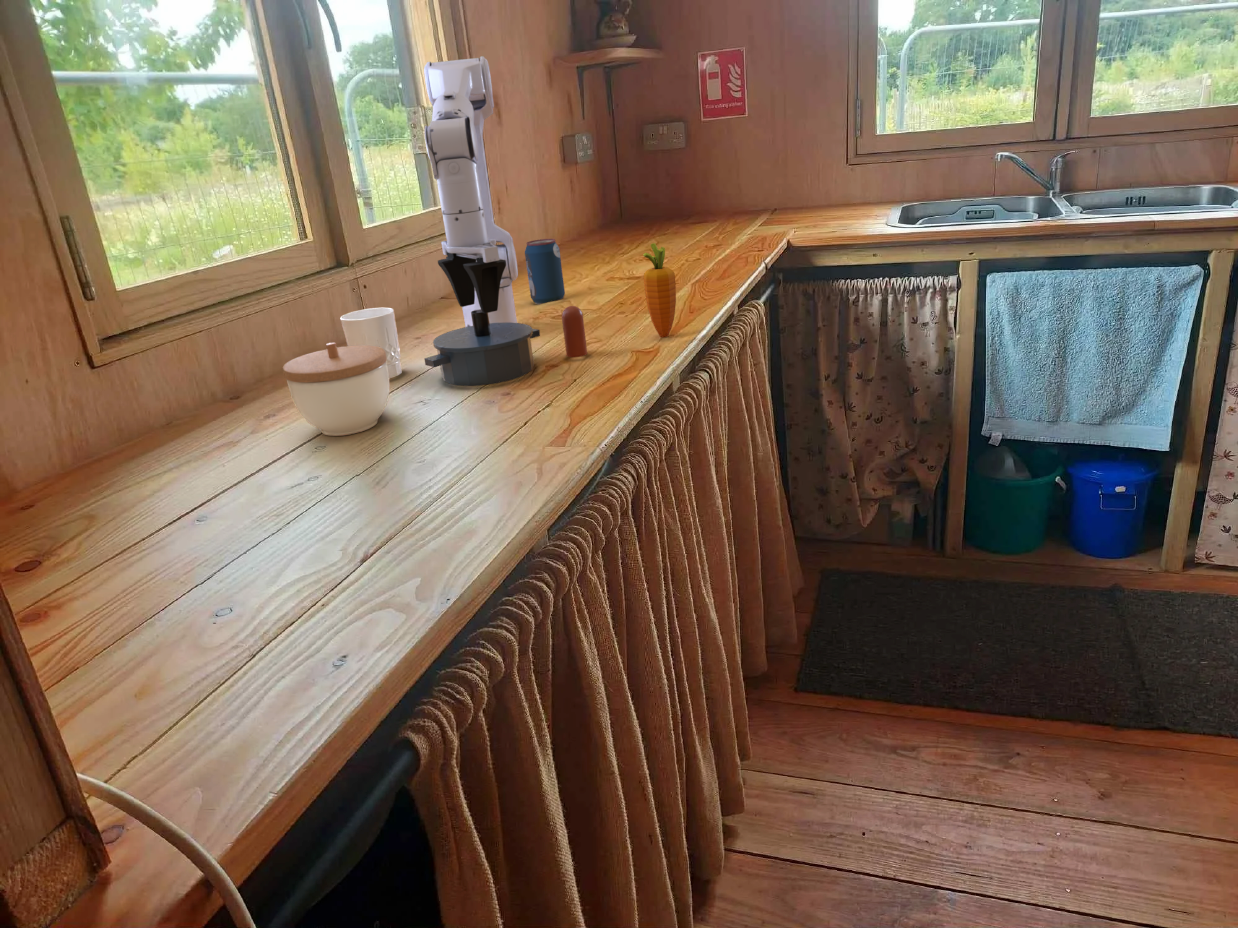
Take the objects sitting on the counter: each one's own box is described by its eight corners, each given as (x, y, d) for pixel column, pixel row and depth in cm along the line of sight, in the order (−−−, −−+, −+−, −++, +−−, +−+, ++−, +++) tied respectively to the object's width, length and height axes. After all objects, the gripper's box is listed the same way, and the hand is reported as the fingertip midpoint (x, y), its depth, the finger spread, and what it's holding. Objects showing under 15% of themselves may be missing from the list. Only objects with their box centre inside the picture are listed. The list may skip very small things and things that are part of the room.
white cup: (416, 370, 136) (404, 307, 132) (384, 386, 129) (370, 320, 126) (376, 369, 139) (363, 307, 135) (343, 384, 133) (328, 319, 129)
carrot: (677, 343, 136) (670, 245, 130) (646, 344, 137) (637, 247, 131) (681, 335, 140) (674, 240, 135) (651, 336, 141) (643, 242, 136)
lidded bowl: (307, 452, 105) (285, 364, 101) (292, 425, 116) (272, 344, 112) (409, 427, 110) (392, 342, 106) (386, 403, 121) (369, 325, 117)
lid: (419, 345, 130) (413, 314, 128) (505, 325, 137) (501, 296, 135) (459, 362, 119) (453, 328, 117) (551, 339, 126) (547, 307, 124)
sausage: (562, 358, 134) (556, 307, 131) (578, 353, 136) (572, 303, 133) (575, 361, 132) (569, 309, 129) (591, 356, 134) (586, 304, 131)
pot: (410, 384, 129) (403, 348, 127) (513, 353, 140) (508, 319, 138) (460, 399, 119) (453, 361, 117) (566, 365, 131) (561, 329, 128)
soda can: (572, 298, 177) (565, 238, 173) (552, 306, 172) (544, 244, 167) (545, 297, 181) (537, 238, 176) (524, 305, 176) (516, 244, 171)
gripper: (512, 209, 117) (526, 309, 122) (467, 206, 128) (481, 297, 134) (464, 216, 114) (481, 319, 119) (422, 213, 125) (438, 306, 130)
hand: (478, 308), depth 126 cm, fingers open, 7 cm apart
